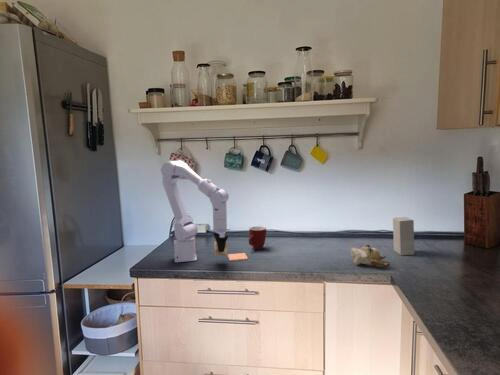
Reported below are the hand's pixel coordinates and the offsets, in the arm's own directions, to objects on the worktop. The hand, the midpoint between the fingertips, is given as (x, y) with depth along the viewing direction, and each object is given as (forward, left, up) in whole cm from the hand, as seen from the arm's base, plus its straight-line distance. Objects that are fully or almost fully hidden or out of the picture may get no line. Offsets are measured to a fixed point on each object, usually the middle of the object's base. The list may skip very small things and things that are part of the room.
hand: (220, 249), depth 152 cm
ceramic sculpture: (+59, -17, -6) cm, 62 cm away
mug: (+19, +16, -6) cm, 26 cm away
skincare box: (+82, -6, -6) cm, 83 cm away
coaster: (+8, +6, -6) cm, 12 cm away
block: (0, 0, -2) cm, 2 cm away
